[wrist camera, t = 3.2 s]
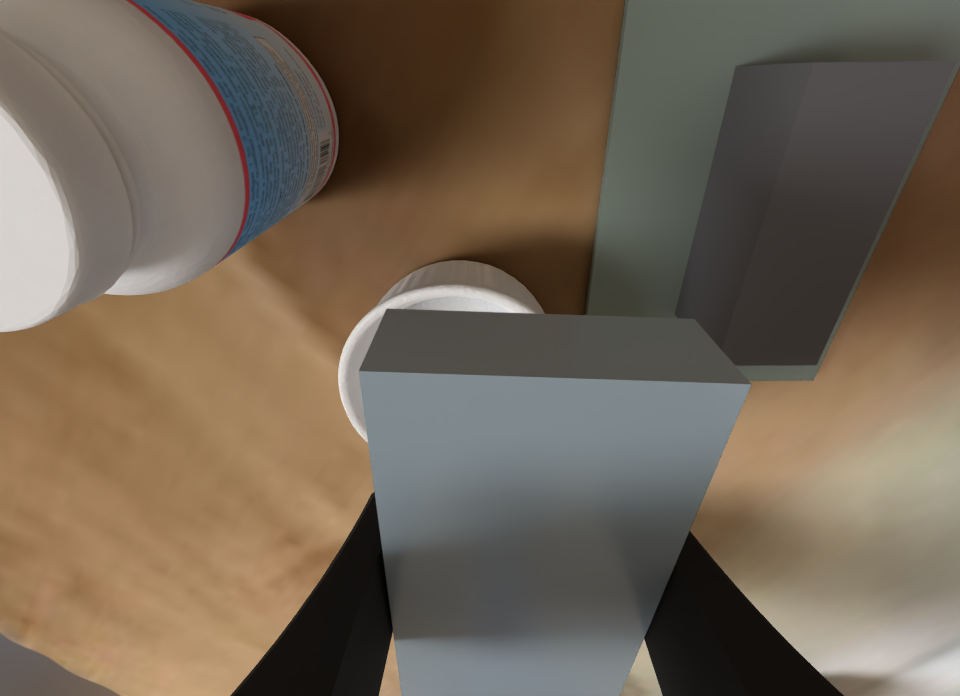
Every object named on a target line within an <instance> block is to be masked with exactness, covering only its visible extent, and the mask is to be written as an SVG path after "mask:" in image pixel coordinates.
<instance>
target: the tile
mask: <svg viewBox="0 0 960 696" xmlns="http://www.w3.org/2000/svg"><path fill="white" fill-rule="evenodd" d="M359 378H360V386H361V393H362V401H363V408H364V416H365V423H366V431H367V438H368V446H369V453H370V461H371V468H372V476H373V483H374V491H375V498H376V506H377V514H378V521H379V529H380V536H381V544H382V551H383V559H384V566H385V574H386V581H387V589H388V596H389V604H390V611H391V619H392V626H393V634H394V641H395V649H396V656H397V664H398V671H399V679H400V687H401V694H402V696H620V694H621V691H622V689H623V687H624V684H625V682H626V680H627V677H628V675H629V672H630V670H631V668H632V665H633V663H634V661H635V658H636V656H637V654H638V651H639V649H640V646H641V644H642V642H643V639H644V637H645V635H646V632H647V630H648V628H649V625H650V623H651V620H652V618H653V616H654V613H655V611H656V609H657V606H658V604H659V602H660V599H661V597H662V594H663V592H664V590H665V587H666V585H667V583H668V580H669V578H670V576H671V573H672V571H673V569H674V566H675V564H676V561H677V559H678V557H679V554H680V552H681V550H682V547H683V545H684V543H685V540H686V538H687V535H688V533H689V531H690V528H691V526H692V524H693V521H694V519H695V517H696V514H697V512H698V509H699V507H700V505H701V502H702V500H703V498H704V495H705V493H706V491H707V488H708V486H709V484H710V481H711V479H712V476H713V474H714V472H715V469H716V467H717V465H718V462H719V460H720V458H721V455H722V453H723V450H724V448H725V446H726V443H727V441H728V439H729V436H730V434H731V432H732V429H733V427H734V424H735V422H736V420H737V417H738V415H739V413H740V410H741V408H742V406H743V403H744V401H745V399H746V396H747V394H748V391H749V389H750V387H751V383H750V382H749V381H748V380H747V379H746V377H745V376H744V375H743V374H742V373H741V372H740V371H739V369H738V368H737V367H736V366H735V365H734V364H733V363H732V361H731V360H730V359H729V358H728V357H727V356H726V355H725V353H724V352H723V351H722V350H721V349H720V348H719V347H718V345H717V344H716V343H715V342H714V341H713V340H712V339H711V337H710V336H709V335H708V334H707V333H706V332H705V330H704V329H703V328H702V327H701V326H700V325H699V324H698V322H697V321H696V320H695V319H682V318H652V317H623V316H593V315H564V314H534V313H505V312H475V311H446V310H416V309H386V311H385V313H384V315H383V318H382V320H381V322H380V324H379V327H378V329H377V331H376V333H375V336H374V338H373V340H372V342H371V344H370V347H369V349H368V351H367V353H366V356H365V358H364V360H363V362H362V365H361V367H360V369H359Z"/></svg>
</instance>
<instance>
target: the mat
mask: <svg viewBox="0 0 960 696" xmlns="http://www.w3.org/2000/svg"><path fill="white" fill-rule="evenodd" d="M901 61H957V62H956V64H955V67H954V69H953V71H952V73H951V75H950V77H949V80H948V82H947V84H946V86H945V88H944V90H943V93H942V95H941V97H940V99H939V101H938V103H937V106H936V108H935V110H934V112H933V114H932V116H931V119H930V121H929V123H928V125H927V127H926V129H925V132H924V134H923V136H922V138H921V140H920V142H919V145H918V147H917V149H916V151H915V153H914V155H913V158H912V160H911V162H910V164H909V166H908V168H907V171H906V173H905V175H904V177H903V179H902V181H901V184H900V186H899V188H898V190H897V192H896V194H895V197H894V199H893V201H892V203H891V205H890V207H889V210H888V212H887V214H886V216H885V218H884V220H883V223H882V225H881V227H880V229H879V231H878V233H877V236H876V238H875V240H874V242H873V244H872V246H871V249H870V251H869V253H868V255H867V257H866V259H865V262H864V264H863V266H862V268H861V270H860V272H859V275H858V277H857V279H856V281H855V283H854V285H853V288H852V290H851V292H850V294H849V296H848V298H847V301H846V303H845V305H844V307H843V309H842V311H841V314H840V316H839V318H838V320H837V322H836V324H835V327H834V329H833V331H832V333H831V335H830V337H829V340H828V342H827V344H826V346H825V348H824V350H823V352H822V355H821V357H820V359H819V361H818V363H817V365H805V366H736V367H737V368H738V369H739V371H740V372H741V373H742V374H743V375H744V376H745V377H746V379H747V380H748V381H799V380H814V378H815V376H816V374H817V372H818V370H819V368H820V365H821V363H822V361H823V359H824V357H825V355H826V353H827V350H828V348H829V346H830V344H831V342H832V340H833V338H834V335H835V333H836V331H837V329H838V327H839V325H840V323H841V320H842V318H843V316H844V314H845V312H846V310H847V308H848V306H849V303H850V301H851V299H852V297H853V295H854V293H855V291H856V288H857V286H858V284H859V282H860V280H861V278H862V276H863V273H864V271H865V269H866V267H867V265H868V263H869V261H870V258H871V256H872V254H873V252H874V250H875V248H876V246H877V243H878V241H879V239H880V237H881V235H882V233H883V231H884V228H885V226H886V224H887V222H888V220H889V218H890V216H891V213H892V211H893V209H894V207H895V205H896V203H897V201H898V198H899V196H900V194H901V192H902V190H903V188H904V186H905V183H906V181H907V179H908V177H909V175H910V173H911V171H912V169H913V166H914V164H915V162H916V160H917V158H918V156H919V154H920V151H921V149H922V147H923V145H924V143H925V141H926V139H927V136H928V134H929V132H930V130H931V128H932V126H933V124H934V121H935V119H936V117H937V115H938V113H939V111H940V109H941V106H942V104H943V102H944V100H945V98H946V96H947V94H948V91H949V89H950V87H951V85H952V83H953V81H954V79H955V76H956V74H957V72H958V70H959V68H960V0H625V6H624V14H623V22H622V29H621V37H620V45H619V53H618V61H617V68H616V76H615V84H614V92H613V100H612V107H611V115H610V123H609V131H608V139H607V146H606V154H605V162H604V170H603V177H602V185H601V193H600V201H599V209H598V216H597V224H596V232H595V240H594V248H593V255H592V263H591V271H590V279H589V287H588V294H587V302H586V310H585V315H593V316H623V317H652V318H677V317H676V315H675V311H676V307H677V303H678V299H679V295H680V291H681V287H682V283H683V278H684V274H685V270H686V266H687V262H688V258H689V254H690V250H691V246H692V242H693V238H694V234H695V230H696V226H697V221H698V217H699V213H700V209H701V205H702V201H703V197H704V193H705V189H706V185H707V181H708V177H709V173H710V169H711V164H712V160H713V156H714V152H715V148H716V144H717V140H718V136H719V132H720V128H721V124H722V120H723V116H724V112H725V107H726V103H727V99H728V95H729V91H730V87H731V83H732V79H733V75H734V71H735V67H736V66H752V65H772V64H791V63H811V62H901Z"/></svg>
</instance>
